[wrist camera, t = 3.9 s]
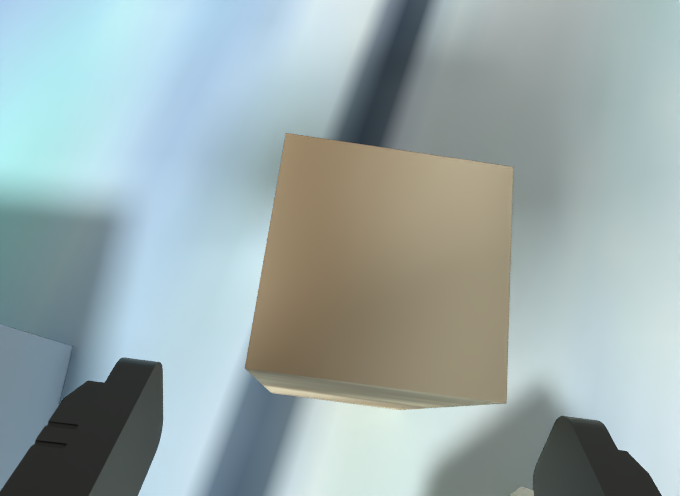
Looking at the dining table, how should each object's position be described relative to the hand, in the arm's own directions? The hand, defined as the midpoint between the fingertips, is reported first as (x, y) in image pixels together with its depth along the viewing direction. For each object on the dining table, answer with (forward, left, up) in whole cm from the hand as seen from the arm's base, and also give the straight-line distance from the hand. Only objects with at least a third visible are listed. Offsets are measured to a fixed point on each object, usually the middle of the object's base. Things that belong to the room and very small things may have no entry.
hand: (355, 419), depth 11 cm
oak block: (-1, -3, -8) cm, 8 cm away
